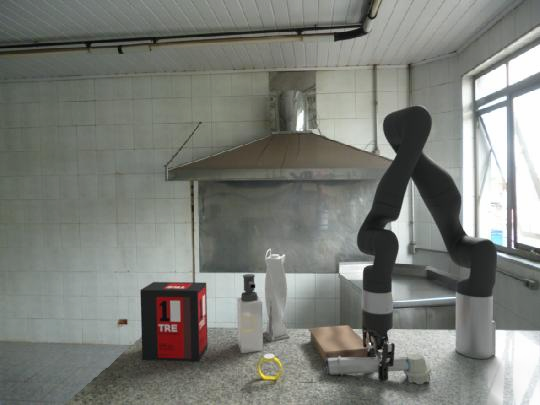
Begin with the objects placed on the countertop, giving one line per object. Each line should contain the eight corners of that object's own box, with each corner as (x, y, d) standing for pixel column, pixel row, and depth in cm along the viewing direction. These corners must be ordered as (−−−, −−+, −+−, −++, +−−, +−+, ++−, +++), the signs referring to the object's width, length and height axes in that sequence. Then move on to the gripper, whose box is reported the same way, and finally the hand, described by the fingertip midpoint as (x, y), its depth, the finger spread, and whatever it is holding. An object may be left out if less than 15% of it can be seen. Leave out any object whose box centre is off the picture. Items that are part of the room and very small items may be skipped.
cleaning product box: (142, 359, 103) (140, 290, 102) (155, 346, 112) (153, 281, 111) (199, 361, 101) (197, 290, 101) (207, 347, 110) (206, 282, 110)
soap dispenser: (242, 356, 104) (241, 280, 103) (237, 344, 112) (236, 273, 112) (264, 353, 105) (263, 278, 105) (258, 341, 114) (257, 272, 113)
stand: (348, 337, 116) (348, 325, 116) (370, 362, 99) (370, 347, 99) (308, 340, 114) (308, 328, 114) (325, 366, 97) (324, 351, 97)
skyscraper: (258, 332, 121) (257, 249, 120) (280, 328, 125) (279, 247, 124) (270, 342, 114) (269, 253, 113) (292, 337, 117) (291, 250, 116)
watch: (258, 382, 91) (255, 358, 90) (259, 376, 93) (257, 353, 93) (281, 381, 90) (279, 358, 90) (282, 375, 93) (280, 352, 93)
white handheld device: (326, 353, 96) (425, 347, 92) (329, 378, 97) (429, 373, 92) (325, 363, 91) (430, 356, 87) (329, 389, 91) (434, 384, 87)
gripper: (405, 316, 84) (405, 387, 85) (378, 298, 99) (378, 359, 99) (375, 318, 83) (375, 390, 84) (352, 299, 98) (352, 361, 98)
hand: (377, 373), depth 92 cm, fingers closed on white handheld device, 6 cm apart
